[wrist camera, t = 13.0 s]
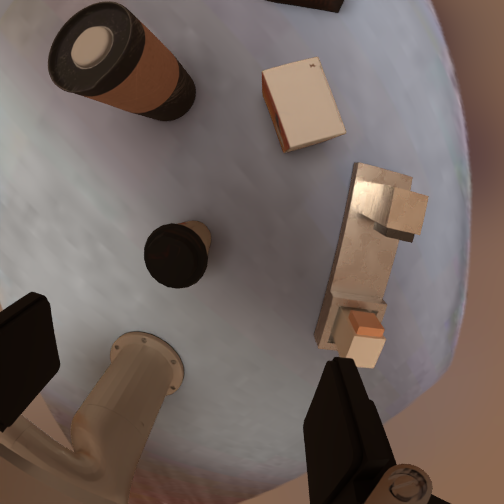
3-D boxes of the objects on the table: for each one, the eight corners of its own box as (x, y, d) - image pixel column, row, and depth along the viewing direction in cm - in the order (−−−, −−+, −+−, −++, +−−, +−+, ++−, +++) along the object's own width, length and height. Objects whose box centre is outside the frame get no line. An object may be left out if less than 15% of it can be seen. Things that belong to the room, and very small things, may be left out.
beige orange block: (357, 334, 39) (373, 368, 32) (330, 330, 39) (342, 365, 32) (369, 302, 38) (389, 331, 30) (341, 297, 38) (357, 328, 30)
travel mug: (171, 58, 33) (98, -14, 13) (210, 92, 34) (155, 27, 15) (131, 99, 34) (33, 61, 15) (167, 135, 36) (77, 113, 16)
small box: (261, 94, 34) (259, 68, 24) (305, 82, 33) (318, 54, 23) (282, 154, 36) (288, 149, 26) (326, 142, 35) (347, 133, 25)
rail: (361, 340, 42) (381, 381, 32) (313, 334, 42) (324, 378, 32) (406, 176, 35) (445, 181, 26) (354, 162, 35) (382, 161, 26)
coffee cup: (231, 243, 39) (219, 268, 29) (191, 273, 40) (169, 306, 31) (197, 199, 38) (173, 211, 28) (158, 233, 39) (125, 254, 29)
